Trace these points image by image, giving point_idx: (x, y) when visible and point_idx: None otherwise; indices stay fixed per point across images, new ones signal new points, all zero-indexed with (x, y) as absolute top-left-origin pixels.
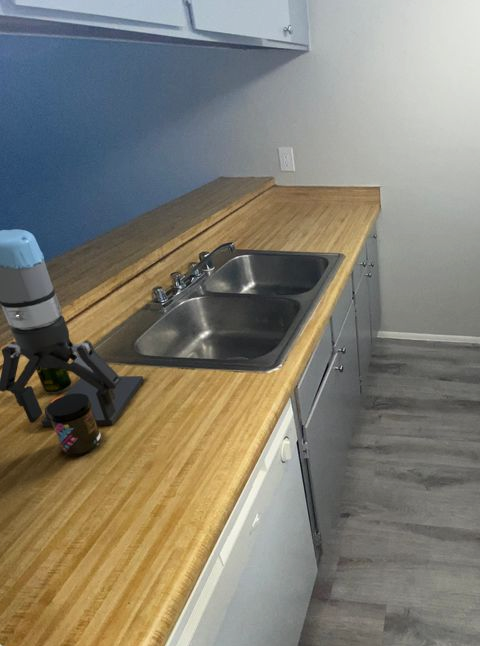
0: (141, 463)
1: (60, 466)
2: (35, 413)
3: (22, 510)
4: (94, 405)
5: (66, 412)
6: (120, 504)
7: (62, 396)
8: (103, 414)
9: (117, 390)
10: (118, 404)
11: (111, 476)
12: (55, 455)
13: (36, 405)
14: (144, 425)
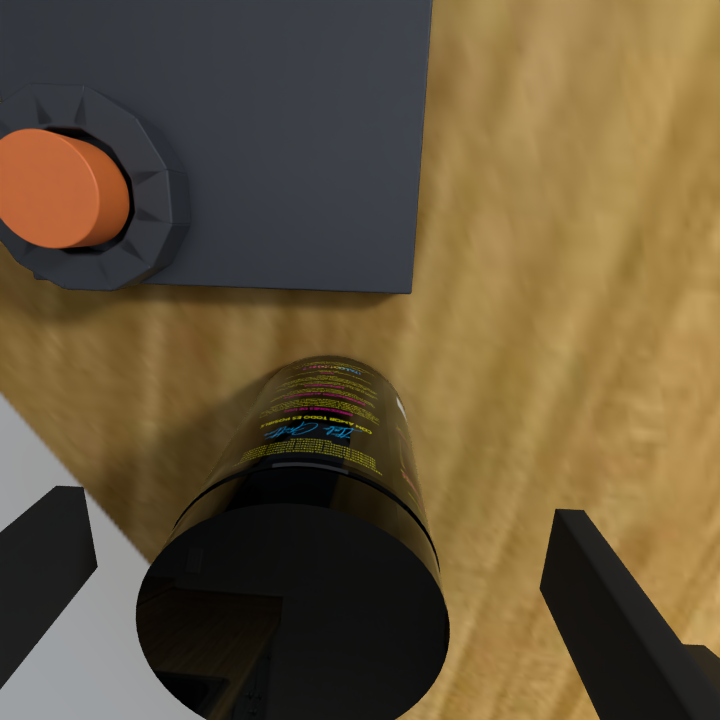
0: (606, 535)
1: None
2: (61, 568)
3: None
4: (251, 141)
5: (335, 716)
6: (575, 682)
7: (23, 134)
8: (563, 635)
9: None
10: (399, 140)
11: (510, 583)
12: None
13: (19, 573)
14: (569, 303)
